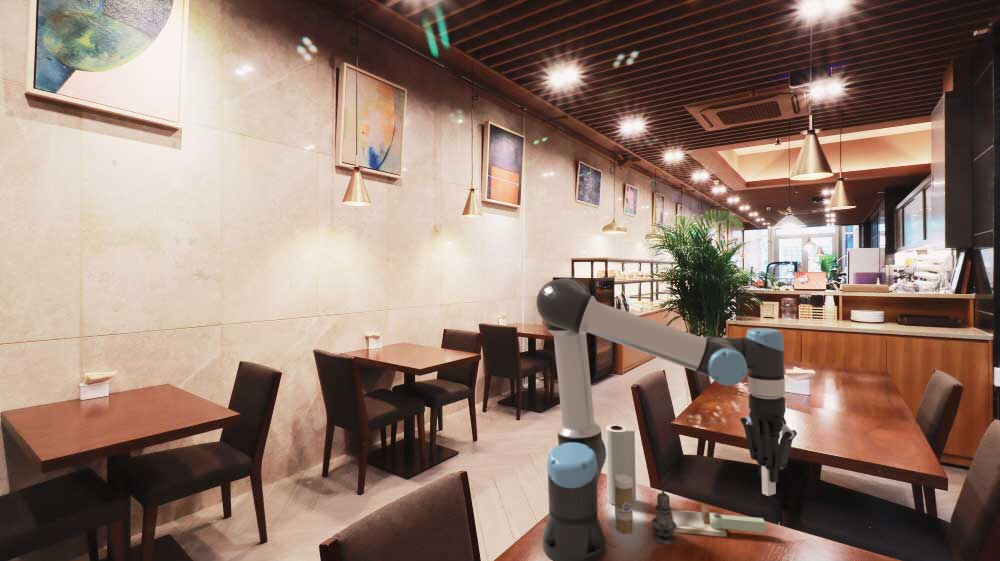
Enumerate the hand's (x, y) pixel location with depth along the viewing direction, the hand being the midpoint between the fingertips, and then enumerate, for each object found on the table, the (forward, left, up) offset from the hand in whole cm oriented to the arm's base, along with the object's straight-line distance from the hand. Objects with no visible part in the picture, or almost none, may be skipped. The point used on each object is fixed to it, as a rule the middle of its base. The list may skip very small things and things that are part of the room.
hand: (768, 493), depth 111 cm
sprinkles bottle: (-33, +1, -13) cm, 36 cm away
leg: (-6, +4, -11) cm, 13 cm away
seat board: (-15, +7, -13) cm, 21 cm away
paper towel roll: (-34, +15, -13) cm, 40 cm away
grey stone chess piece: (-24, -1, -13) cm, 27 cm away
